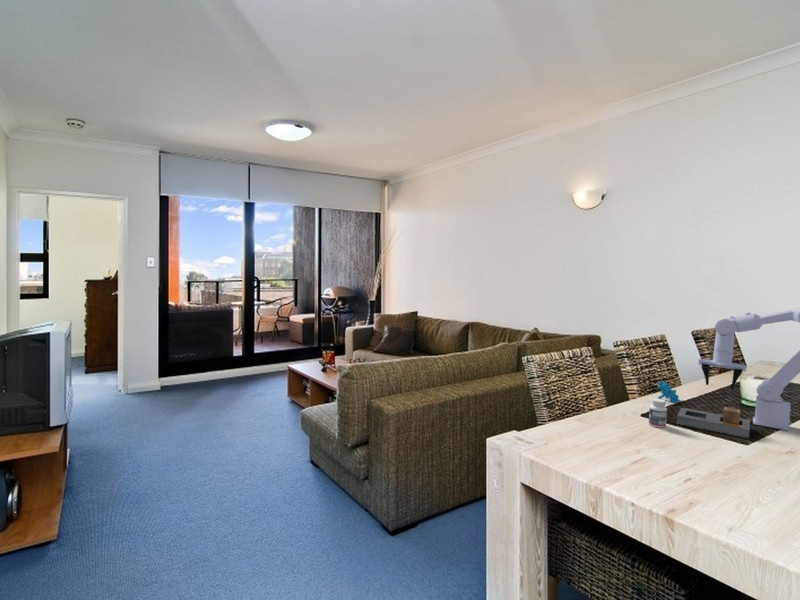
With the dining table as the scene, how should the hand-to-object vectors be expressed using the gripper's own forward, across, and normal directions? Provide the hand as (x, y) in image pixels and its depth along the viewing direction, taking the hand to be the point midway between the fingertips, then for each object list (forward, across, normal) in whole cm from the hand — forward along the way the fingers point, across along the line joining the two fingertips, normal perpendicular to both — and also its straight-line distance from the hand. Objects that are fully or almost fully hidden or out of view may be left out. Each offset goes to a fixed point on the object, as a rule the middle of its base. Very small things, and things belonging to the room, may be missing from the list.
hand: (719, 386), depth 168 cm
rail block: (+10, 0, -18) cm, 21 cm away
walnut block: (+10, +5, -18) cm, 21 cm away
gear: (+11, -17, +6) cm, 21 cm away
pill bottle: (+11, -15, -30) cm, 35 cm away
